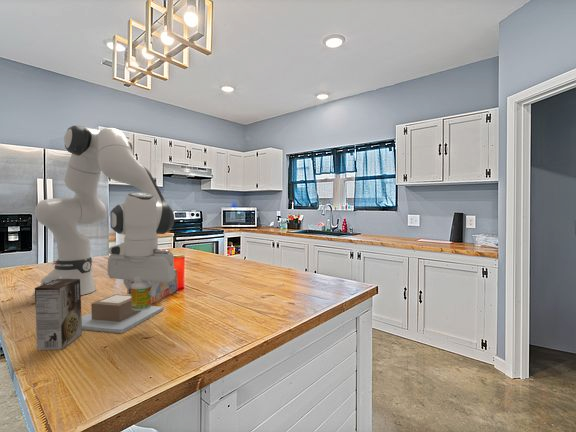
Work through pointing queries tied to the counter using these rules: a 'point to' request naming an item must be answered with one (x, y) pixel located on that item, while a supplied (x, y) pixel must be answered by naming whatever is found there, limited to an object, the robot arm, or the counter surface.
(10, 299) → the counter surface
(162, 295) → the stack of blocks
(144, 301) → the supplement bottle
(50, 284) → the coffee box
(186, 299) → the counter surface
